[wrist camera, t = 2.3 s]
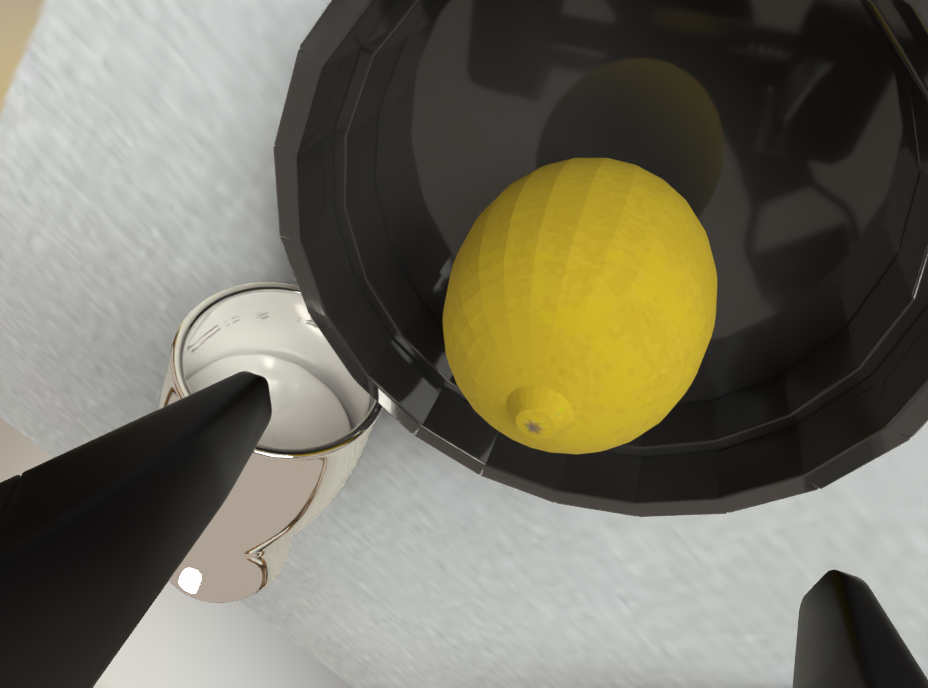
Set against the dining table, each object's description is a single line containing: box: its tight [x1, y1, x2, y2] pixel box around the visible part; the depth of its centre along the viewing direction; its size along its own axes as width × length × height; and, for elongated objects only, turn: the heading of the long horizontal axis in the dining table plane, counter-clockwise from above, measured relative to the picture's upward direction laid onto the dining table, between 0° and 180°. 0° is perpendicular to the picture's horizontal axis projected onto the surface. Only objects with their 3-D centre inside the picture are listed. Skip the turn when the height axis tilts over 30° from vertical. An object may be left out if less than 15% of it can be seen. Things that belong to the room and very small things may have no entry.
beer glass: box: [158, 282, 383, 603], centre depth 24 cm, size 7×7×15 cm
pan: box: [274, 0, 928, 517], centre depth 15 cm, size 15×15×4 cm
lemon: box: [443, 158, 717, 454], centre depth 13 cm, size 6×6×8 cm
